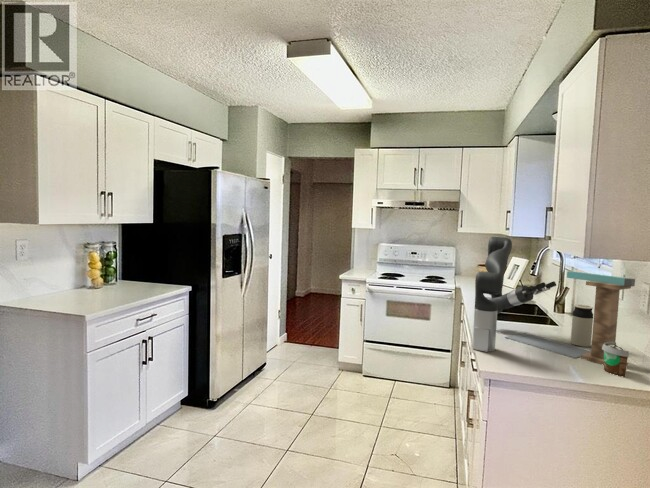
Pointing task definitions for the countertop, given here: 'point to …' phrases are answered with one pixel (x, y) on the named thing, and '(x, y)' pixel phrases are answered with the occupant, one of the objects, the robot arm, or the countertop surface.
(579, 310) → the travel mug
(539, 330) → the countertop surface
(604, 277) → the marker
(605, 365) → the food container
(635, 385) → the countertop surface
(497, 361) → the countertop surface
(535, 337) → the grey mat
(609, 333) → the walnut stand
